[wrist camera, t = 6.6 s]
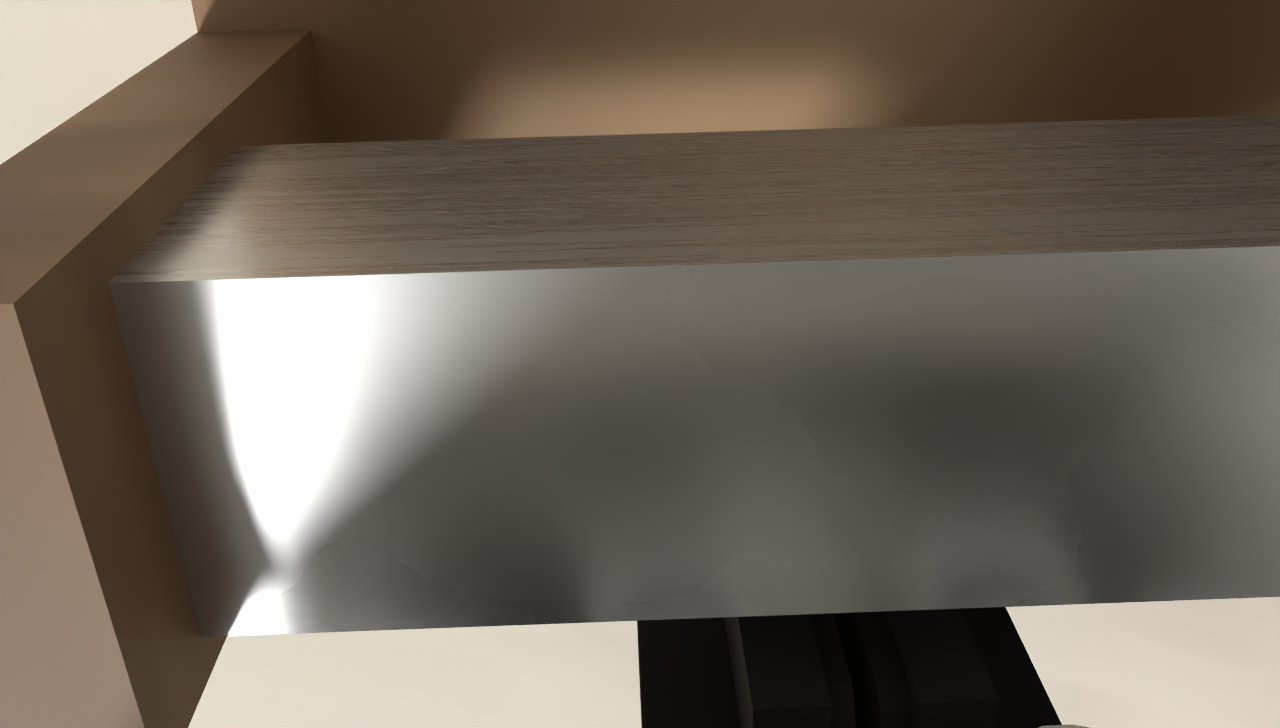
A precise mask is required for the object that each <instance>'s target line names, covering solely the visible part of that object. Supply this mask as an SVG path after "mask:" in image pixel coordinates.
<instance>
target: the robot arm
mask: <svg viewBox="0 0 1280 728" xmlns="http://www.w3.org/2000/svg"><path fill="white" fill-rule="evenodd" d="M637 628H638V652H639V675H640V698H641V721H642V728H1088V727H1082V726H1077V725H1062V724H1061V722H1060V720H1059V718H1058V716H1057V714H1056V712H1055V710H1054V707H1053V705H1052V703H1051V701H1050V699H1049V697H1048V695H1047V693H1046V691H1045V689H1044V687H1043V685H1042V682H1041V680H1040V678H1039V676H1038V674H1037V672H1036V670H1035V668H1034V666H1033V664H1032V662H1031V660H1030V657H1029V655H1028V653H1027V651H1026V649H1025V647H1024V645H1023V643H1022V641H1021V639H1020V637H1019V635H1018V633H1017V630H1016V628H1015V626H1014V624H1013V622H1012V620H1011V618H1010V616H1009V614H1008V612H1007V610H1006V608H1005V607H986V608H959V609H933V610H906V611H879V612H852V613H825V614H799V615H772V616H745V617H718V618H692V619H665V620H638V621H637Z"/></svg>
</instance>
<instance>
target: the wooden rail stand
mask: <svg viewBox="0 0 1280 728" xmlns="http://www.w3.org/2000/svg"><path fill="white" fill-rule="evenodd" d="M191 1H192V6H193V11H194V16H195V21H196V26H197V31H198V33H196V34H195V35H193V36H192V37H190V38H189V39H187V40H186V41H184V42H183V43H181V44H180V45H178V46H177V47H176V48H174V49H173V50H171V51H170V52H168V53H167V54H165V55H164V56H162V57H161V58H159V59H158V60H156V61H155V62H153V63H152V64H150V65H149V66H147V67H146V68H144V69H143V70H141V71H140V72H138V73H137V74H135V75H134V76H132V77H131V78H129V79H128V80H126V81H125V82H123V83H122V84H120V85H119V86H117V87H116V88H114V89H113V90H111V91H110V92H108V93H107V94H105V95H104V96H102V97H101V98H99V99H98V100H96V101H95V102H94V103H92V104H91V105H89V106H88V107H86V108H85V109H83V110H82V111H80V112H79V113H77V114H76V115H74V116H73V117H71V118H70V119H68V120H67V121H65V122H64V123H62V124H61V125H59V126H58V127H56V128H55V129H53V130H52V131H50V132H49V133H47V134H46V135H44V136H43V137H41V138H40V139H38V140H37V141H35V142H34V143H32V144H31V145H29V146H28V147H26V148H25V149H23V150H22V151H20V152H19V153H17V154H16V155H15V156H13V157H12V158H10V159H9V160H7V161H6V162H4V163H3V164H1V165H0V728H188V726H189V724H190V721H191V719H192V717H193V714H194V712H195V710H196V707H197V705H198V703H199V700H200V698H201V696H202V693H203V691H204V689H205V686H206V684H207V682H208V679H209V677H210V674H211V672H212V670H213V667H214V665H215V663H216V660H217V658H218V656H219V653H220V651H221V649H222V646H223V644H224V642H225V639H226V637H227V636H210V637H201V633H200V629H199V626H198V622H197V618H196V614H195V611H194V607H193V603H192V599H191V595H190V592H189V588H188V584H187V580H186V576H185V573H184V569H183V565H182V561H181V557H180V554H179V550H178V546H177V542H176V538H175V535H174V531H173V527H172V523H171V520H170V516H169V512H168V508H167V504H166V501H165V497H164V493H163V489H162V485H161V482H160V478H159V474H158V470H157V466H156V463H155V459H154V455H153V451H152V447H151V444H150V440H149V436H148V432H147V428H146V425H145V421H144V417H143V413H142V410H141V406H140V402H139V398H138V394H137V391H136V387H135V383H134V379H133V375H132V372H131V368H130V364H129V360H128V356H127V353H126V349H125V345H124V341H123V337H122V334H121V330H120V326H119V322H118V319H117V315H116V311H115V307H114V303H113V300H112V296H111V292H110V288H109V284H108V283H109V282H110V281H111V280H112V279H113V278H114V276H115V275H116V274H117V273H118V272H119V271H120V270H121V269H122V268H123V267H124V266H125V265H126V264H127V263H128V262H129V261H130V260H131V258H132V257H133V256H134V255H135V254H136V253H137V252H138V251H139V250H140V249H141V248H142V247H143V246H144V245H145V244H146V243H147V242H148V240H149V239H150V238H151V237H152V236H153V235H154V234H155V233H156V232H157V231H158V230H159V229H160V228H161V227H162V226H163V225H164V224H165V222H166V221H167V220H168V219H169V218H170V217H171V216H172V215H173V214H174V213H175V212H176V211H177V210H178V209H179V208H180V207H181V206H182V204H183V203H184V202H185V201H186V200H187V199H188V198H189V197H190V196H191V195H192V194H193V193H194V192H195V191H196V190H197V189H198V188H199V186H200V185H201V184H202V183H203V182H204V181H205V180H206V179H207V178H208V177H209V176H210V175H211V174H212V173H213V172H214V171H215V170H216V168H217V167H218V166H219V165H220V164H221V163H222V162H223V161H224V160H225V159H226V158H227V157H228V156H229V155H230V154H231V153H232V152H233V150H234V149H235V148H236V147H237V146H250V145H284V144H318V143H352V142H386V141H420V140H453V139H487V138H521V137H555V136H589V135H623V134H657V133H691V132H725V131H759V130H793V129H827V128H861V127H894V126H928V125H962V124H996V123H1030V122H1064V121H1098V120H1132V119H1166V118H1200V117H1234V116H1268V115H1280V0H191Z"/></svg>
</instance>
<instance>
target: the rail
mask: <svg viewBox="0 0 1280 728" xmlns="http://www.w3.org/2000/svg"><path fill="white" fill-rule="evenodd" d="M108 284H109V288H110V292H111V296H112V300H113V303H114V307H115V311H116V315H117V319H118V322H119V326H120V330H121V334H122V337H123V341H124V345H125V349H126V353H127V356H128V360H129V364H130V368H131V372H132V375H133V379H134V383H135V387H136V391H137V394H138V398H139V402H140V406H141V410H142V413H143V417H144V421H145V425H146V428H147V432H148V436H149V440H150V444H151V447H152V451H153V455H154V459H155V463H156V466H157V470H158V474H159V478H160V482H161V485H162V489H163V493H164V497H165V501H166V504H167V508H168V512H169V516H170V520H171V523H172V527H173V531H174V535H175V538H176V542H177V546H178V550H179V554H180V557H181V561H182V565H183V569H184V573H185V576H186V580H187V584H188V588H189V592H190V595H191V599H192V603H193V607H194V611H195V614H196V618H197V622H198V626H199V629H200V633H201V637H210V636H237V635H264V634H290V633H317V632H344V631H371V630H397V629H424V628H451V627H478V626H504V625H531V624H558V623H585V622H611V621H638V620H665V619H692V618H718V617H745V616H772V615H799V614H825V613H852V612H879V611H906V610H933V609H959V608H986V607H1013V606H1040V605H1066V604H1093V603H1120V602H1147V601H1173V600H1200V599H1227V598H1254V597H1280V115H1268V116H1234V117H1200V118H1166V119H1132V120H1098V121H1064V122H1030V123H996V124H962V125H928V126H894V127H861V128H827V129H793V130H759V131H725V132H691V133H657V134H623V135H589V136H555V137H521V138H487V139H453V140H420V141H386V142H352V143H318V144H284V145H250V146H237V147H236V148H235V149H234V150H233V152H232V153H231V154H230V155H229V156H228V157H227V158H226V159H225V160H224V161H223V162H222V163H221V164H220V165H219V166H218V167H217V168H216V170H215V171H214V172H213V173H212V174H211V175H210V176H209V177H208V178H207V179H206V180H205V181H204V182H203V183H202V184H201V185H200V186H199V188H198V189H197V190H196V191H195V192H194V193H193V194H192V195H191V196H190V197H189V198H188V199H187V200H186V201H185V202H184V203H183V204H182V206H181V207H180V208H179V209H178V210H177V211H176V212H175V213H174V214H173V215H172V216H171V217H170V218H169V219H168V220H167V221H166V222H165V224H164V225H163V226H162V227H161V228H160V229H159V230H158V231H157V232H156V233H155V234H154V235H153V236H152V237H151V238H150V239H149V240H148V242H147V243H146V244H145V245H144V246H143V247H142V248H141V249H140V250H139V251H138V252H137V253H136V254H135V255H134V256H133V257H132V258H131V260H130V261H129V262H128V263H127V264H126V265H125V266H124V267H123V268H122V269H121V270H120V271H119V272H118V273H117V274H116V275H115V276H114V278H113V279H112V280H111V281H110V282H109V283H108Z"/></svg>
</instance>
